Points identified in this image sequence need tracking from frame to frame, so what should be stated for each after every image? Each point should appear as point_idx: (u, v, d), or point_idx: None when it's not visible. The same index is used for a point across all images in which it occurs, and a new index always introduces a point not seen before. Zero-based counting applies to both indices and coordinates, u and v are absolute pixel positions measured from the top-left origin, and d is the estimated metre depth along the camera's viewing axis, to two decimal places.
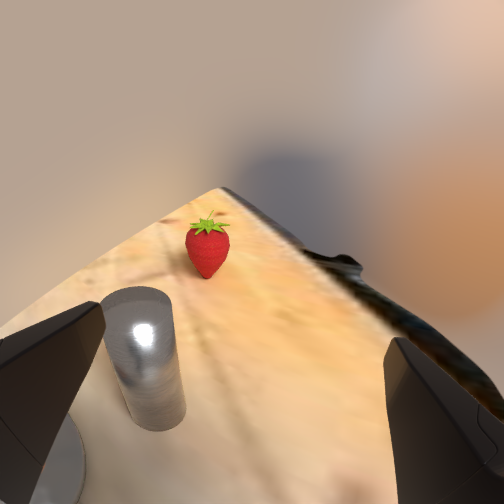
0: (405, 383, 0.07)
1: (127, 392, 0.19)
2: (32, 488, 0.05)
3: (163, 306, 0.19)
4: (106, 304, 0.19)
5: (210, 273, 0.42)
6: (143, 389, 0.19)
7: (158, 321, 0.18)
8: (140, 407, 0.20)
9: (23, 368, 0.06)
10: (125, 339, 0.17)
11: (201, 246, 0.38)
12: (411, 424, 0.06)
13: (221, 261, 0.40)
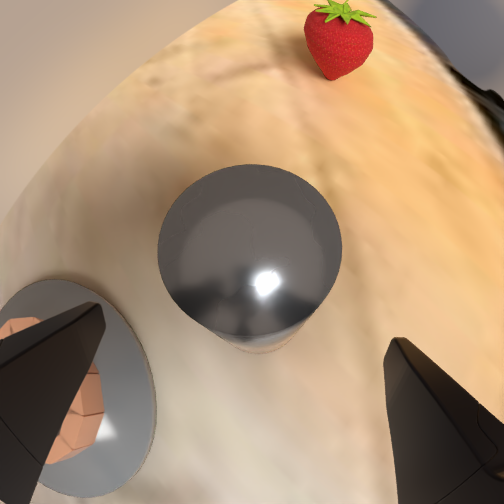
0: (405, 383, 0.07)
1: None
2: (32, 488, 0.05)
3: (323, 244, 0.08)
4: (179, 227, 0.08)
5: (338, 76, 0.24)
6: (252, 348, 0.12)
7: (315, 301, 0.08)
8: None
9: (23, 367, 0.06)
10: (232, 336, 0.08)
11: (334, 41, 0.19)
12: (411, 424, 0.06)
13: (359, 64, 0.21)
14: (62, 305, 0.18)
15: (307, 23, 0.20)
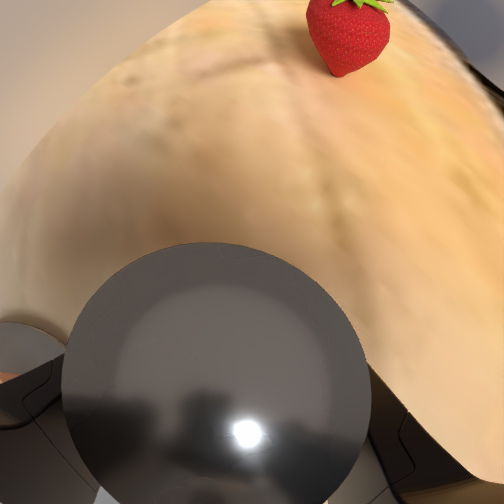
0: None
1: None
2: None
3: (337, 410, 0.04)
4: (88, 364, 0.04)
5: (348, 72, 0.19)
6: None
7: (314, 502, 0.03)
8: None
9: None
10: None
11: (344, 28, 0.15)
12: None
13: (374, 58, 0.17)
14: (25, 353, 0.14)
15: (310, 8, 0.16)
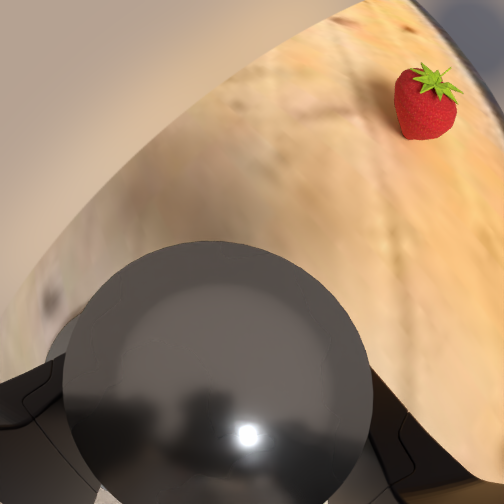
0: None
1: None
2: None
3: (339, 409, 0.04)
4: (89, 362, 0.04)
5: (417, 139, 0.25)
6: None
7: (315, 501, 0.03)
8: None
9: None
10: None
11: (425, 113, 0.20)
12: None
13: (439, 136, 0.23)
14: None
15: (400, 85, 0.22)
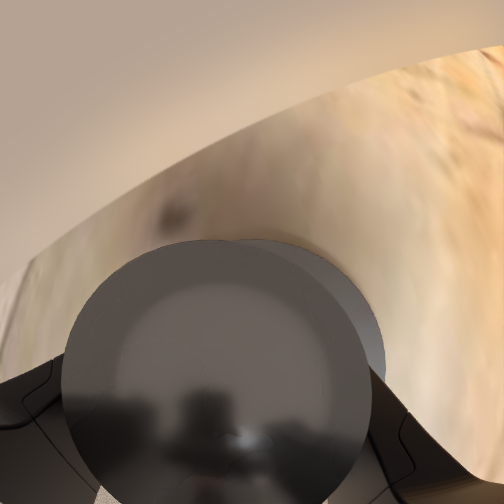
0: None
1: None
2: None
3: (337, 408, 0.04)
4: (88, 361, 0.04)
5: None
6: None
7: (314, 499, 0.03)
8: None
9: None
10: None
11: None
12: None
13: None
14: None
15: None
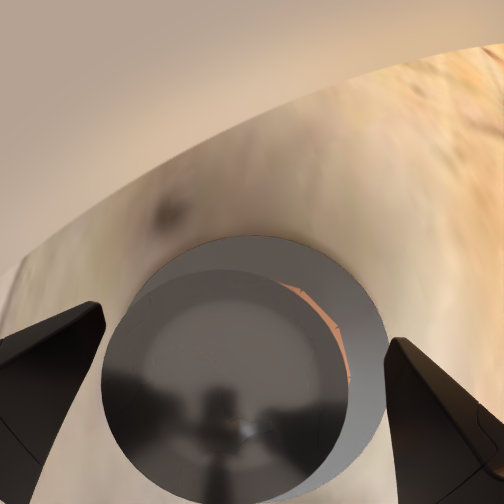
0: (405, 383, 0.07)
1: None
2: (32, 487, 0.05)
3: (322, 399, 0.05)
4: (125, 366, 0.06)
5: None
6: None
7: (305, 473, 0.05)
8: None
9: (23, 367, 0.06)
10: None
11: None
12: (411, 424, 0.06)
13: None
14: (314, 282, 0.17)
15: None
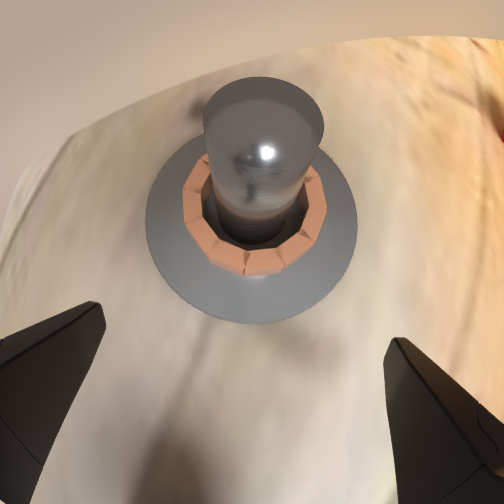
0: (405, 383, 0.07)
1: (225, 210, 0.17)
2: (32, 487, 0.05)
3: (311, 125, 0.12)
4: (219, 105, 0.12)
5: None
6: (250, 216, 0.16)
7: (304, 155, 0.12)
8: (236, 226, 0.19)
9: (23, 367, 0.06)
10: (247, 173, 0.12)
11: None
12: (411, 424, 0.06)
13: None
14: None
15: None
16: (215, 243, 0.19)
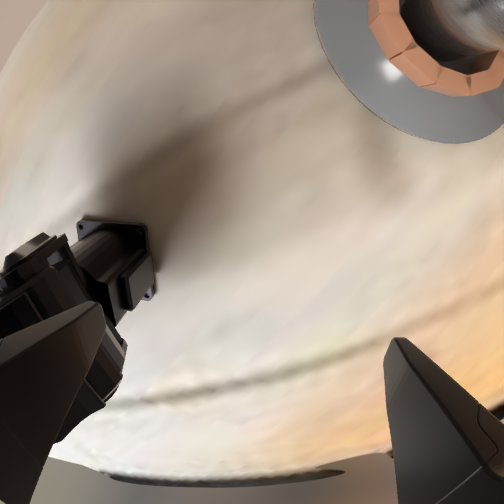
0: (405, 383, 0.07)
1: None
2: (32, 487, 0.05)
3: None
4: None
5: None
6: (451, 20, 0.09)
7: None
8: (424, 18, 0.10)
9: (23, 367, 0.06)
10: None
11: None
12: (411, 424, 0.06)
13: None
14: None
15: None
16: (393, 13, 0.11)
